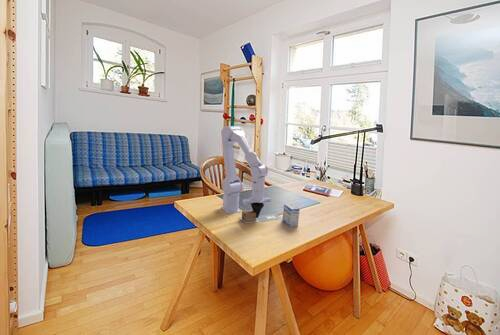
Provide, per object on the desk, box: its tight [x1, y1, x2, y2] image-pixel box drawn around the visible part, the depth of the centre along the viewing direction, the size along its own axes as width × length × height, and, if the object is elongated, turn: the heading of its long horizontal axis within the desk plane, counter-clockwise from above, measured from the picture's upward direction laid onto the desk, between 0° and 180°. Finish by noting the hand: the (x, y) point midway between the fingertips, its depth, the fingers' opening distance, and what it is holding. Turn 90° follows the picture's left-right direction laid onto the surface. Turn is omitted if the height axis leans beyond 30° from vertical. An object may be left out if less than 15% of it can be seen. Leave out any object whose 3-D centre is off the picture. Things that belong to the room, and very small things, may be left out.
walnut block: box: [241, 209, 256, 223], centre depth 131 cm, size 5×5×4 cm
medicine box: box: [281, 203, 300, 228], centre depth 130 cm, size 8×4×9 cm, turn 21°
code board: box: [237, 213, 283, 225], centre depth 135 cm, size 8×21×1 cm, turn 117°
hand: (256, 217), depth 133 cm, fingers closed
